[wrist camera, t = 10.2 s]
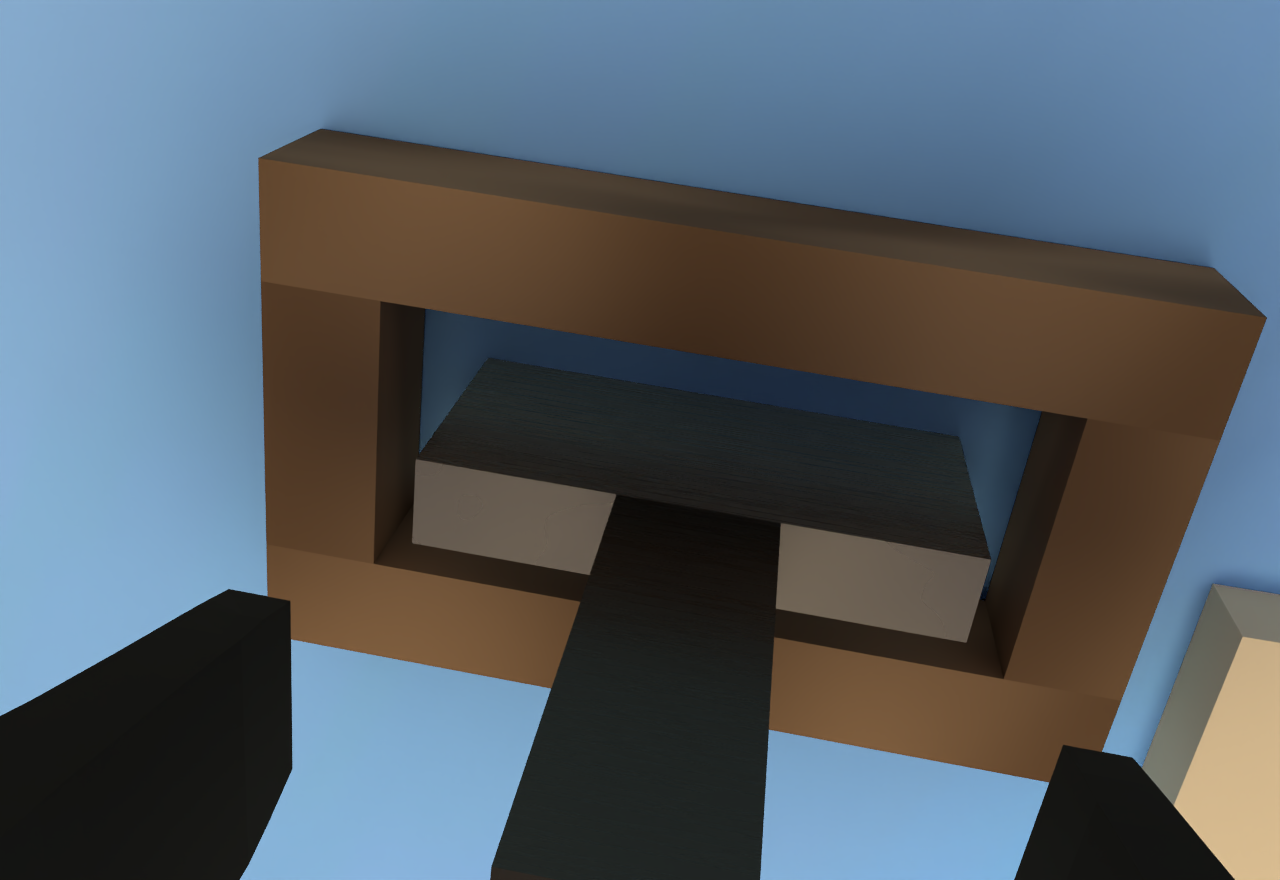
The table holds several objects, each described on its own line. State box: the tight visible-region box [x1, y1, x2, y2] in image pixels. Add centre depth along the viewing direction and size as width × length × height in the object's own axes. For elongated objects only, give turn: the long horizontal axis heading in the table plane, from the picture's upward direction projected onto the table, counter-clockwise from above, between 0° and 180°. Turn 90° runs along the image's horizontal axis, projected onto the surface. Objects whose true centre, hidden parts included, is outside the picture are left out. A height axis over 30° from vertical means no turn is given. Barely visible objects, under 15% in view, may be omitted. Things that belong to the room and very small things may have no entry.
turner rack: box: [258, 129, 1267, 782], centre depth 16 cm, size 12×7×2 cm, turn 83°
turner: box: [412, 358, 991, 880], centre depth 13 cm, size 7×1×10 cm, turn 83°
